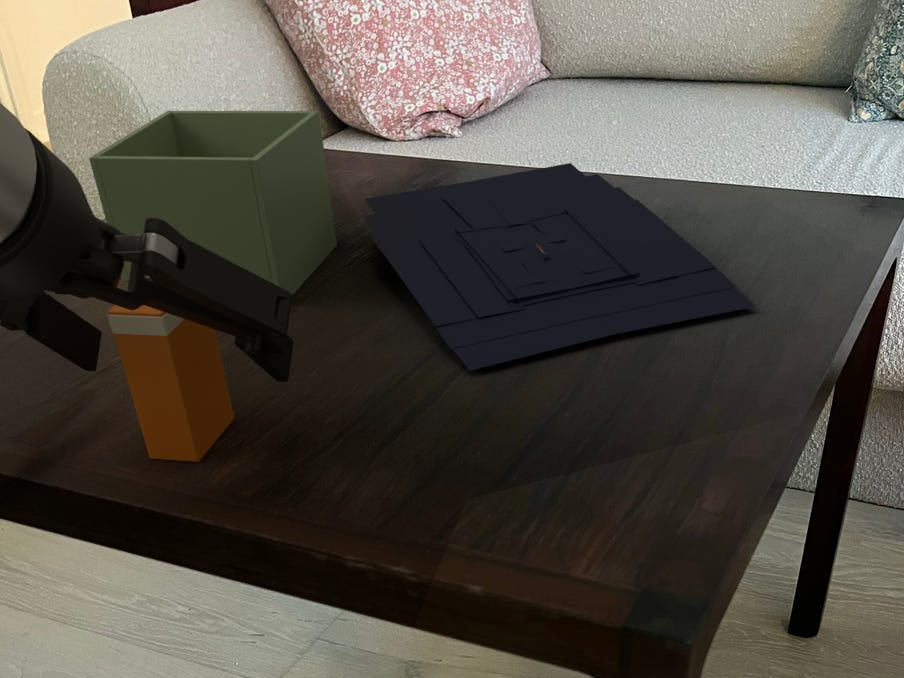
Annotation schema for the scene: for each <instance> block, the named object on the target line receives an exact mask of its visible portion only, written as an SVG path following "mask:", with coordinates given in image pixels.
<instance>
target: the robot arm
mask: <svg viewBox="0 0 904 678" xmlns="http://www.w3.org/2000/svg"><path fill="white" fill-rule="evenodd" d="M124 261H125V262H132V263H131V270H130V277H129V281H128V283H127V284H128V285H127V290H125V289H122V288H118V286H119V283H120V280H121V278H122V277H121V273H122V270H123V267H124ZM47 292H51V293H55V294H56V295H67V296H69V295H70V296H73V297H76V298H79V299H82V300H83V299H84V300H86V299H88V298H89V299H90V298H94V299H96V300H100V301H102V302H106V303H109V304H111V305H113V306H115V305H117V306H120V307H123V308H126V309H129V310H136V309H138V308H139V307H141V306H143V305H145V306H148V307H151V308H154V309H157V310H160V311H163V312H165V313H168V314H171V315H174V316H177V317H180V318H183V319H186V320H189V321H192V322H195V323H198V324H201V325H203V326H206V327H209V328H212V329H215V331H219V332H221V333H224V334H226V335H230V336H233V337H234V343H233V344H234V345H235V346H236V347H237V348H238V349H239V350H240V351H241V352H243V353H244V354H245V355H246V356H247V357H248V358H250V359H251V360H252V361H253V362H254V363H255V364H257V366H259V367H260V368H261V369H262V370H263V371H265V373H266V374H268V375H269V376H270V377H271V378H272V379H274V380H275V381H276V382H277V383H278V382H280V383H289V379H290V372H291V365H292V363H291V362H292V356H293V350H294V339H293V338H292V337H291V336H290V335H289V334H288V329H289V322H290V315H291V308H292V301H293V295H292V294H291V293H290V292H288V291H287V290H285V289H283V288H281V287H279V286H277V285H275V284H273V283H271V282H269V281H267V280H265V279H263V278H261V277H260V276H258V275H256V274H254V273H252V272H250V271H248V270H246V269H244V268H242V267H240V266H238V265H236V264H234V263H233V262H231V261H229V260H227V259H225V258H223V257H221V256H219V255H217V254H215V253H213V252H211V251H209V250H207V249H206V248H204V247H202V246H200V245H198V244H196V243H194V242H192V241H190V240H188V239H187V238H185V237H184V236H183V235H182V234H181V233H179V232H178V231H177V230H176V229H174V228H173V227H172V226H171V225H170V224H168V223H167V222H165V221H163V220H161V219H158V218H147V219H146V220H145V225H144V231H143V234H134V235H127V234H124V233H122V232H121V231H120V230H118V229H117V228H115V227H114V226H112V225H109V224H107V222H106V221H103V220H102V219H100V218H98V217H97V216H96V215H95V214H94V212H93V210H92V208H91V206H90V204H89V201H88V198H87V196H86V194H85V191H84V189H83V187H82V184H81V183H80V181H79V179H78V177H77V176H76V174H75V173H74V171H73V170H72V169H71V168H70V167H69V166H68V165H67V164H66V163H64V162H63V160H61V158H59V157H58V156H57V155H56V154H55V153H54V152H53V151H52V150H50V149H49V148H48V147H47V146H46V145H45V144H44V143H43V142H42V141H41V140H40V139H39V138H38V137H36V136H35V134H34V133H32V132H31V131H30V130H28V129H27V128H26V127H25V126H24V125H23V124H22V122H21V121H20V120H19V118H18V117H17V116H16V115H15V114H14V113H13V112H11V110H9V109H8V108H7V107H6V106H4V104H3V103H1V102H0V326H1V327H2V328H4V329H6V330H7V331H11V332H14V331H17V332H18V331H23V332H25V335H27V336H29V337H30V338H31V339H33V340H35V341H37V342H39V344H41V345H43V346H45V347H46V348H47V349H50V350H51V351H53V352H54V353H56V354H58V355H59V356H61V357H63V358H64V359H66V360H68V361H70V362H71V363H73V364H74V365H76V366H78V367H79V368H80V369H82V370H84V371H86V372H97V367H98V361H99V354H100V349H101V348H100V347H101V342H102V341H101V339H102V334H103V332H102V330H100V329H99V328H98V327H96V326H94V325H93V324H91V323H90V322H88V321H87V320H86V319H84V318H83V317H82V316H80V315H78V314H77V313H76V312H74V311H73V310H71V309H70V308H69V307H67V306H66V305H64V304H63V303H61V302H60V301H58V299H55V298H54V297H53V296H51V295H50V294H49V293H47Z"/></svg>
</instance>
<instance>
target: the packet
mask: <svg viewBox="0 0 904 678" xmlns="http://www.w3.org/2000/svg"><path fill="white" fill-rule="evenodd" d="M107 319H108V322H109V326H110V329H111V333H112V334H113V335H114V339H115V342H116V346H117V348H118V352H119V356H120V359H121V363H122V366H123V370H124V373H125V377H126V380H127V381H126V382H127V384H128V387H129V390H130V395H131V397H132V402H133V404H134V408H135V411H136V415H137V418H138V422H139V425H140V430H141V432H142V435H143V439H144V442H145V446H146V450H147V453H148V457H149V459H150V460H164V461H178V462H190V463H191V462H192V463H199V462H201V460H202V459H203V457H204V456H205V455H206V454H207V453H208V452H209V450H210V449H211V448H212V447H213V445H214V444H215V443H216V442H217V440H218V439H219V438H220V437H221V435H223V433H224V432H225V431H226V429H228V427H229V426H230V425H231V423H232V422H233V421H234V420H235V413H234V410H233V406H232V405H233V404H232V400H231V396H230V392H229V391H230V390H229V387H228V383H227V378H226V374H225V370H224V369H225V368H224V364H223V360H222V356H221V351H220V347H219V342H218V338H217V333H216V330H215V329H212V328H209V327H206V326H203V325H201V324H198V323H195V322H192V321H189V320H186V319H183V318H180V317H177V316H174V315H171V314H168V313H165V312H163V311H160V310H157V309H154V308H151V307H148V306H145V305H143V306H141V307H139V308H138V309H136V310H129V309H126V308H123V307H120V306H117V305H113V306H112V307H111V308H110V309H108V311H107Z"/></svg>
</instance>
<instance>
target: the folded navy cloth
mask: <svg viewBox="0 0 904 678" xmlns="http://www.w3.org/2000/svg"><path fill="white" fill-rule="evenodd" d="M364 200H365V202H366V203H367V204H368V206H369V207H370V209H371V210H372V212H373V214H367V215H362V218H363V219H364V221H365V222H366V224H367V225H368V227H369V228H370V229H371V231H372V232H368V234H369V236H370V237H371V238H372V240H373V242H374V243H375V245H376V246H377V248H378V249H379V251H380V253H382V254H383V256H384V257H385V258H386V260H387V262H389V264H390V265H391V267H392V268H393V270H394V271H395V273H397V275H398V276H399V278H400V279H401V281H402V282H403V283H404V285H405V286H406V287H407V289H408V290H409V291H410V293H411V295H412V296H413V297H414V298H415V300H416V301H417V303H418V304H419V305H420V307H421V308H422V310H423V311H424V312H425V314H426V315H427V316H428V318H429V320H430V321H431V322H432V325H433V326H434V328H435V329H436V331H437V332H438V333H439V335H440V336H441V338H442V339H443V340H444V342H445V344H446V345H447V346H448V348H449V349H450V350H452V351H453V352H454V353H455V354H456V355H457V357H458V358H459V359H460V361H462V362H463V364H464V365H465V367H466V368H467V369H468V370H469V371H474V370H478V369H482V368H486V367H490V366H494V365H498V364H502V363H506V362H509V361H514V360H518V359H522V358H526V357H530V356H533V355H534V356H535V355H537V354H542V353H546V352H550V351H554V350H557V349H562V348H566V347H570V346H574V345H578V344H582V343H586V342H589V341H593V340H598V339H601V338H605V337H609V336H613V335H617V334H623V333H628V332H633V331H639V330H643V329H649V328H653V327H654V328H655V327H659V326H663V325H669V324H674V323H679V322H685V321H689V320H694V319H695V320H696V319H700V318H705V317H710V316H715V315H720V314H726V313H732V312H735V311H740V310H747V309H751V308H755V307H756V306H755V305H754V303H752V301H750V300H749V298H747V297H746V296H745V295H744V294H743V293H742V292H741V291H740V290H739V289H737V286H736V285H735V284H734V282H732V281H731V280H730V279H729V278H728V276H726V275H725V274H724V273H723V272H722V271H721V270H719V269H718V268H717V266H716V265H715V264H714V263H713V262H712V261H710V260H709V259H708V258H707V257H705V255H703V254H702V253H701V252H700V251H698V250H697V249H696V248H695V247H694V246H693V245H691V244H690V243H689V242H688V241H687V240H686V239H685V238H683V237H682V236H681V235H680V234H678V233H677V232H676V231H675V230H674V229H673V228H671V227H670V226H669V225H668V224H667V223H666V222H664V221H663V220H662V219H661V218H660V217H658V216H657V215H656V214H655V213H654V212H653V211H652V210H650V209H649V207H647V206H645V205H644V204H643V203H642V202H641V201H640V200H638V198H636V199H634V198H633V197H632V196H630V195H629V194H628V192H626V191H625V190H624V189H622V188H621V187H620V186H617V187H614V185H612V184H611V183H610V182H608V181H607V180H606V179H604V177H602V176H601V175H599V174H598V173H596V174H591V175H590V174H589V175H585V174H584V173H582V172H581V171H580V170H579V169H578V168H577V167H576V166H575V165H573V164H572V163H571V162H568V163H563V164H557V165H552V166H547V167H541V168H535V169H531V170H525V171H518V172H513V173H508V174H503V175H496V176H492V177H486V178H480V179H475V180H469V181H463V182H457V183H452V184H451V183H450V184H445V185H440V186H434V187H428V188H427V187H426V188H421V189H415V190H410V191H404V192H397V193H392V194H391V193H390V194H386V195H379V196H374V197H369V198H368V197H367V198H364Z"/></svg>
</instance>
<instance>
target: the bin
mask: <svg viewBox="0 0 904 678" xmlns="http://www.w3.org/2000/svg"><path fill="white" fill-rule="evenodd" d="M322 134H323V133H322V126H321V119H320V111H318V110H166V111H165V112H163V113H162V114H160V115H158V116H156V117H155V118H153V119H152V120H150V121H149V122H147V123H145V124H143V125H141V126H139V127H138V128H137V129H135V130H133V131H132V132H130V133H128V134H127V135H124V136H123V137H121V138H120V139H118V140H117V141H115V142H113V143H112V144H110V145H108V146H107V147H104V148H103V149H101V150H100V151H98V152H97V153H95V154H93V155H91V156H90V157H89V158H88V159H89V164H90V167H91V170H92V175H93V178H94V181H95V185H96V189H97V192H98V196H99V200H100V203H101V208H102V210H103V214H104V218H105V223H107V224H109V225H112V226H114V227H115V228H117V229H118V230H120V231H121V232H122V233H124V234H127V235H134V234H143V231H144V225H145V220H146V219H147V218H158V219H161V220H163V221H165V222H167V223H168V224H170V225H171V226H172V227H173V228H174V229H176V230H177V231H178V232H179V233H181V234H182V235H183V236H184V237H185V238H187V239H188V240H190V241H192V242H194V243H196V244H198V245H200V246H202V247H204V248H206V249H207V250H209V251H211V252H213V253H215V254H217V255H219V256H221V257H223V258H225V259H227V260H229V261H231V262H233V263H234V264H236V265H238V266H240V267H242V268H244V269H246V270H248V271H250V272H252V273H254V274H256V275H258V276H260V277H261V278H263V279H265V280H267V281H269V282H271V283H273V284H275V285H277V286H279V287H281V288H283V289H285V290H287V291H288V292H290V293H291V294H292V296H294V295H295V293H296V292H297V291H298V290H299V289H300V288H301V286H303V284H305V282H306V281H307V280H308V279H309V277H311V275H312V274H313V273H314V272H315V271H316V270H317V268H319V266H321V264H322V263H323V262H324V261H325V260H326V259H327V257H328V256H329V255H330V254H331V253H332V252H333V251H334V250H335V248H337V246H338V242H337V241H338V240H337V235H336V228H335V227H336V226H335V219H334V214H333V213H334V212H333V206H332V199H331V197H332V196H331V191H330V184H329V176H328V169H327V161H326V154H325V147H324V141H323V135H322ZM131 263H132V262H125V261H124V267H123V270H122V273H121V277H120V278H121V280H122V281H123V282H129V277H130V270H131Z"/></svg>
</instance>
